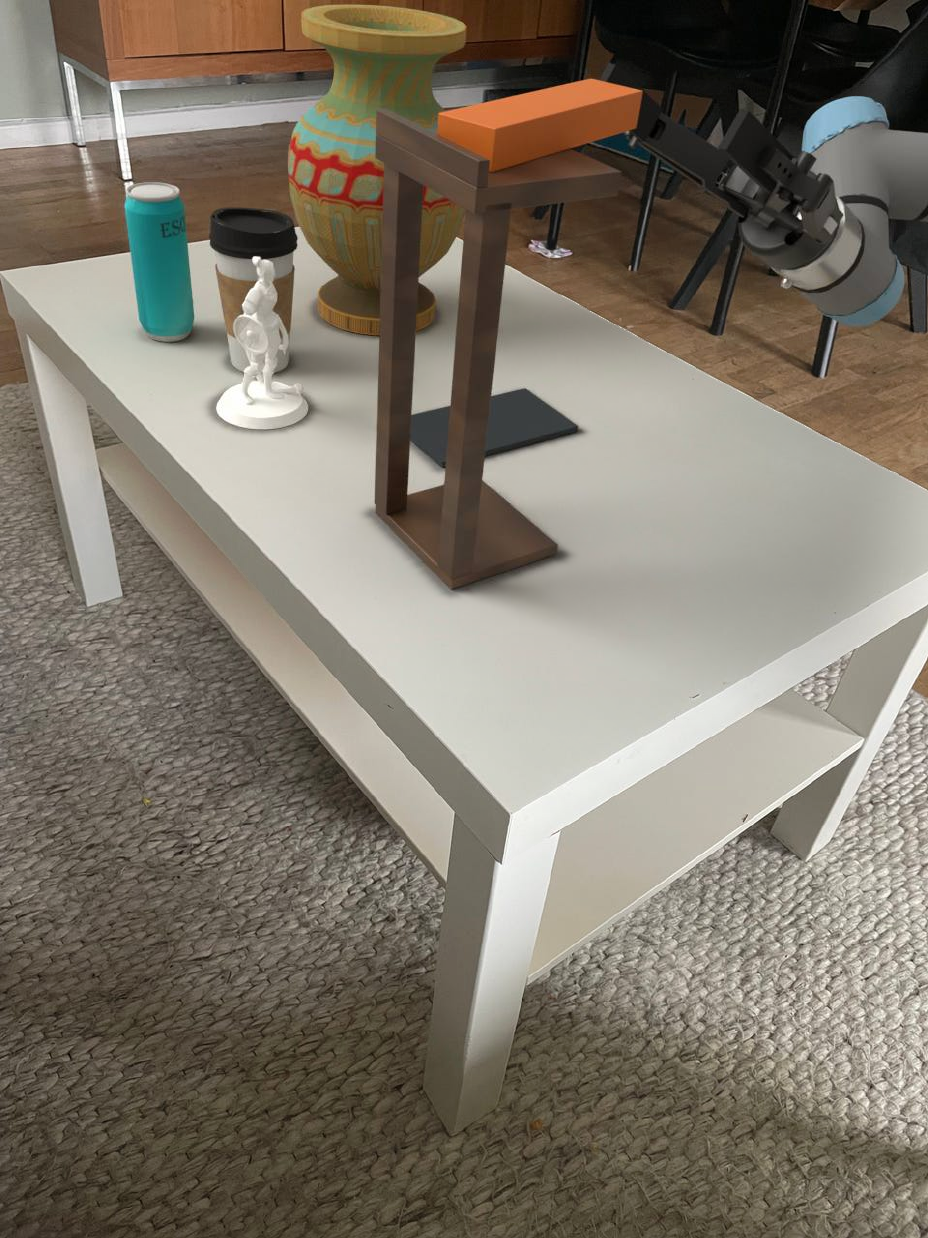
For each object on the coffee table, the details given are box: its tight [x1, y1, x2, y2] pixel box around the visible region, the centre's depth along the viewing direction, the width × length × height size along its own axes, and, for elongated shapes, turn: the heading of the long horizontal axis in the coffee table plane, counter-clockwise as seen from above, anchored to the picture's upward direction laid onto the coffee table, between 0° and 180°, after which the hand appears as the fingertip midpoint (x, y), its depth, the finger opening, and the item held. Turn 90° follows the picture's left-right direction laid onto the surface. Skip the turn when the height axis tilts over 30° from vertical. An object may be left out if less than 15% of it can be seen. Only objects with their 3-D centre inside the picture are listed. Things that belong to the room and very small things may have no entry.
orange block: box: [437, 78, 643, 172], centre depth 67 cm, size 18×4×2 cm, turn 143°
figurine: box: [216, 256, 309, 430], centre depth 93 cm, size 9×9×15 cm
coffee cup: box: [208, 206, 298, 375], centre depth 101 cm, size 8×8×15 cm
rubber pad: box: [410, 387, 579, 468], centre depth 98 cm, size 16×9×1 cm, turn 123°
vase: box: [287, 3, 467, 336], centre depth 109 cm, size 20×20×30 cm
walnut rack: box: [374, 109, 623, 590], centre depth 74 cm, size 11×12×32 cm
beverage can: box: [124, 181, 195, 343], centre depth 105 cm, size 6×6×15 cm
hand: (663, 103), depth 70 cm, fingers open, 13 cm apart
